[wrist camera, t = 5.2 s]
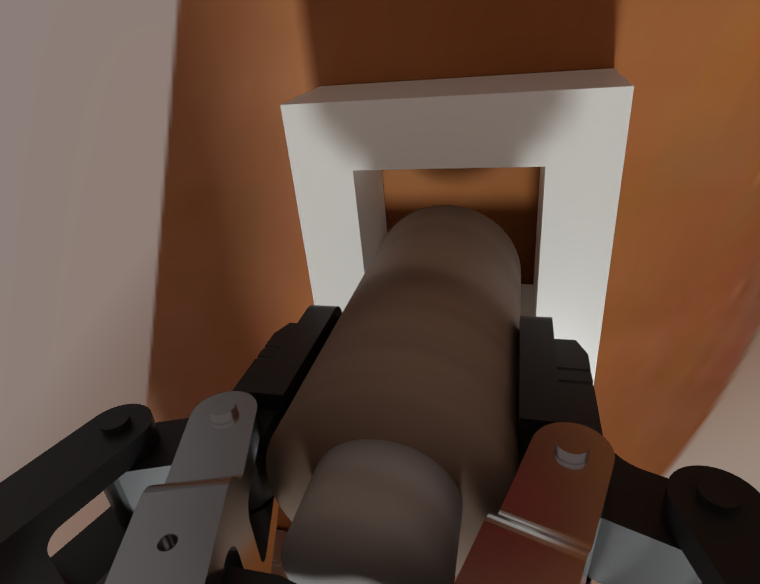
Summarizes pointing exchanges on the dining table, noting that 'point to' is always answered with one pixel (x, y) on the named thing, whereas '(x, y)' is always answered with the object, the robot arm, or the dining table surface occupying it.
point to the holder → (468, 150)
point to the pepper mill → (406, 410)
